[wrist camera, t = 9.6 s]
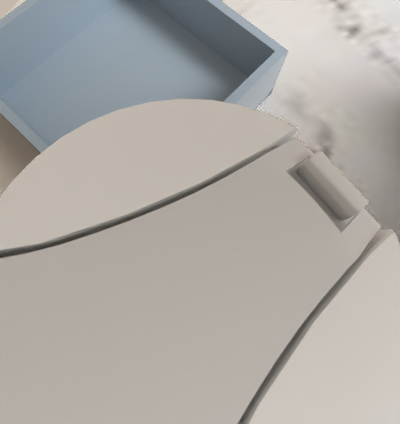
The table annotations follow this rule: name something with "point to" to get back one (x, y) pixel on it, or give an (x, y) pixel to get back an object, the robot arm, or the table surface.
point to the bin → (125, 60)
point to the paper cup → (194, 278)
